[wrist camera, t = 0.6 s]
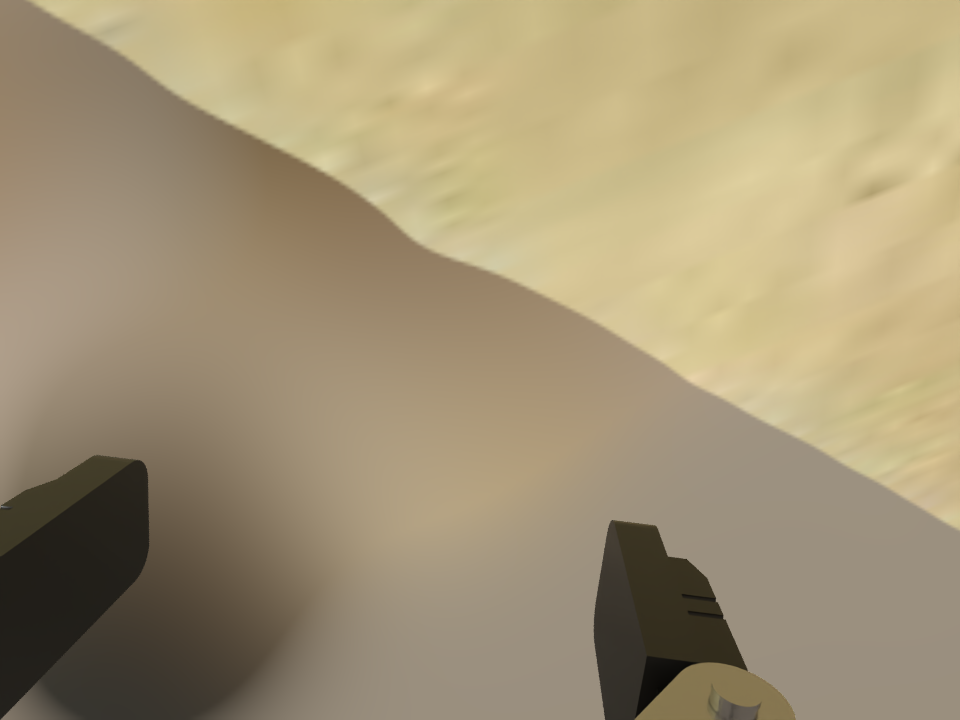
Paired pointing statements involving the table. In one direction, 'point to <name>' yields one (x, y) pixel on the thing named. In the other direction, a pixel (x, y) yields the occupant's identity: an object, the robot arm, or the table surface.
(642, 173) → the table surface
